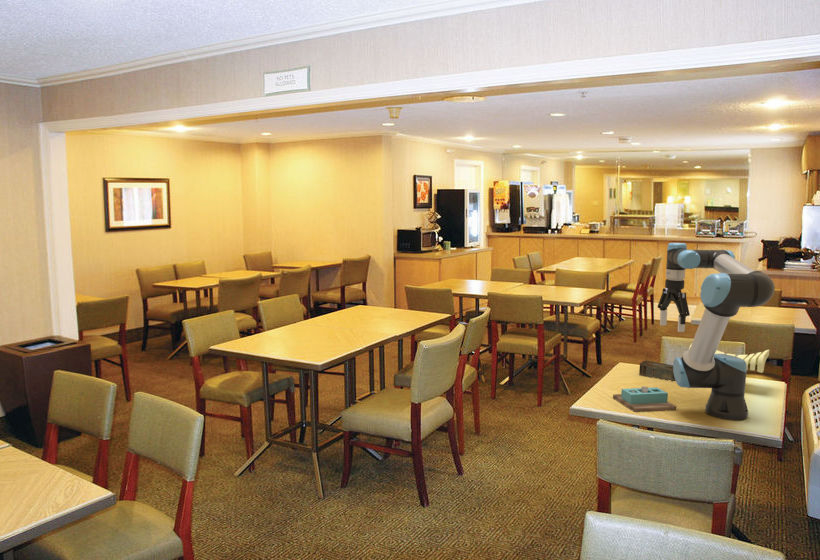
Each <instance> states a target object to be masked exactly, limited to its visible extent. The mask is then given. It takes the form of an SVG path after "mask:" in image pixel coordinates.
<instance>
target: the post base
mask: <svg viewBox="0 0 820 560" xmlns="http://www.w3.org/2000/svg"><path fill="white" fill-rule="evenodd" d="M640 388H641V392H642V393H648V388H649V387H647V386H641V387H640ZM631 393H635V391H631ZM612 398H613V400H615V401H617V402H619V403H620V404H622V405H623V406H624V405H625V407H626V408H627V409H629V410H631V411H632V410H633V411H632V412H634V413H641V412H640V411H647V412H661V411H662V412H664V411H665V410H667V411H677V407H678V406H677V405H675V404H673V403H671V402H670V401H668V400H667V403H649V404H629V403H628V402H626V401H625V400H623V399H622V398H621V393H619V394H618V393H617V394H612ZM665 412H666V411H665Z"/></svg>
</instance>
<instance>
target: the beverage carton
mask: <svg viewBox="0 0 820 560" xmlns="http://www.w3.org/2000/svg"><path fill="white" fill-rule="evenodd" d="M638 371H639V372H638V374H639V376H642V377H647V376H648V377H647V378H652V377H654V379H657V378H659V379H658V380H663V379H665V380H664V381H668V380H671V381H670V382H673V381H676V380H675V377H674V372H673V364H668V363H662V362H657V361H652V360H651V361H650V360H644V361H642V362H640V363H639V370H638Z"/></svg>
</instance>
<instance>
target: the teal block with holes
mask: <svg viewBox="0 0 820 560" xmlns="http://www.w3.org/2000/svg"><path fill="white" fill-rule="evenodd" d="M641 388H642V387H637V388H635V387H634V388H621V391H620V392H621V393H620V394H621V398H622V399H623V400H625V401H626V402H628V403H629V404H649V403H667V401H668V399H669V398H668V397H669V396H668V395H669V393H668V392H666V391H665V390H663V389H662V388H660V387H657V386H656V387H648V393H642V392H641ZM631 391H635V393H631Z"/></svg>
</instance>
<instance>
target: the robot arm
mask: <svg viewBox="0 0 820 560" xmlns="http://www.w3.org/2000/svg"><path fill="white" fill-rule="evenodd" d="M687 247H688V246H687V243H684V242H669V243H668V244H667V250H666V266H665V278H666V279H665V284H664V288H662V292H661V295H660V298H659V301H658V303H657V308H658V309H659V310H660V313H659V314H660V315H659V326H667V325H668V324H667V322H668V307H669V306H670V304H671V303H672V302H673V303H674V304H675V306H676V309H677V311H678V318H677V319H678V321H677V332H678V333H685V330H686V321H687V320H686V318H687V317H689V316H690V315H691V314H690V309H689V305H688V301H687V292H682V290H684V289H685V279H686V270H693V269H713V270H716V271H717V272H718V273H711V274H709V275H707V276H706V277H705V278H704V279H703V281H702V283H701V286H700V294H699V297H700V300H701V303H702V305H703V307H704V308H705V309H704V312H703V314H702V317H701V320H700V322H699V324H698V326H697V329H696V332H695V334H694V337H693V340H692V342H691V344H692V345H691V344H690V345H691V347H690V346H689V347H690V349H689V348H688V349H686V350H685V351H684V352H683V354H682V356H681V357H680V356H679V357H675V358H674V360H673V362H672V365H673V372H674V377H675V380H676V382H675V383H676V384H677V386H679V387H681V388H687V389H711V392H710V395H709V397H708V400H707V402H706V403H705V406H704V412H705V413H706V414H707V415H710V416H711V417H714V418H717V419H722V420H728V421H743V420H746V419H748V417H749V416H748V415H749V410H748V407H747V402H746V398H745V393H746V382H747V373H748V370H747V366H746V362H745V361H744V360H743V359H741V358H738V357H737V356H736V357H735V356H731V355H726V354H727V353H725V354H715V352H716V350H718V347H719V345H720V343H721V340H722V338H723V335H724V333H725V331H726V329H727V326H728V324H729V321H730V319H731V318H732V317H734V316H736V315H737V314H738V313H739V310H740V308H758V307H760V306H763V305H765V304H766V303H768V302H769V301H770V300H771V299H772V298H773V296H774V294H775V290H776V289H775V288H776V287H775V283H774V280H773V279H772V277H770V276H769V275H768V274H767V273H764V272H763V271H761V270H754V269H752V268H750V267H749V266H748V265H746V264H744V263H742V262H741V261H739V260H738V259H736V256H735V254H734V252H733V251H732V250H730V249H729V250H728V249H727V250H726V249H688V248H687ZM713 357H714V358H713Z"/></svg>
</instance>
